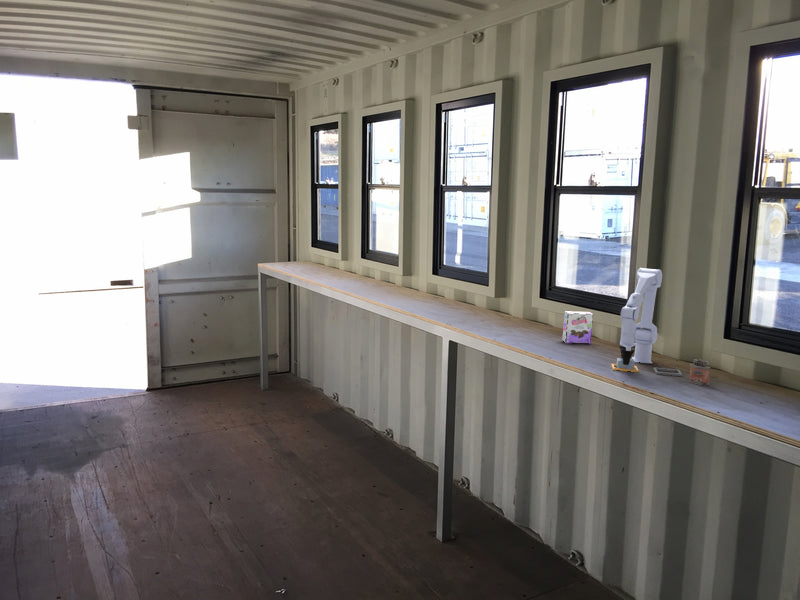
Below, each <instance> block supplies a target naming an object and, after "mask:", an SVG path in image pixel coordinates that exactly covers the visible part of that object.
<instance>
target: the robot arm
mask: <svg viewBox="0 0 800 600" xmlns="http://www.w3.org/2000/svg"><path fill="white" fill-rule="evenodd" d="M662 279H663V272H662V270H661V269H655V268H654V269H653V268H644V267H639V269H637V272H636V280H637V285H636V287H635V290H634V292H633V293H631V294H630V296H629V298H628V300H627V302H626V304H625V306H623V307H622V308H621V311H620V322H621V329H620V330H621V331H620V341H619V345H618V348H619V350H620V357H621V359H623V365H629V362H630V359H631V358H634V361H635V363H639V362H640V364H641V363H642V364H651V365H652V364H653V361H652V351H653V350H652V349H653V345H654V344H655V343H656V341H657V339H658V327H657V326H656V325H655V324H654V323H653V317H654V312H655V311H654V309H655V304H656V303H655V302H656V297H657V291H658V288H661V286H662V281H663V280H662ZM643 295H644V296H643ZM642 303H643V304H642ZM641 306H642V312H641V310H640V308H641ZM640 312H641V316H640V317H641V318H640V322H637V320H638V318H639V315H640ZM633 347H634V350H633ZM633 354H634V356H633Z"/></svg>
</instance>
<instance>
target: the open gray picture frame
mask: <svg viewBox="0 0 800 600" xmlns="http://www.w3.org/2000/svg"><path fill="white" fill-rule="evenodd" d="M652 370H653V371H655V372H654V373H655V375H660V374H662V375H663V376H671V375H672V376H673V377H683V373H682V372H681V371H680V370H679V369H674V368H664V367H653V369H652ZM658 370H660V371H658Z"/></svg>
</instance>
